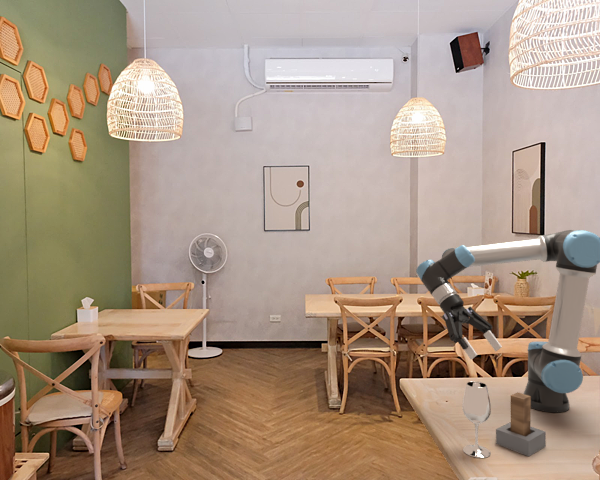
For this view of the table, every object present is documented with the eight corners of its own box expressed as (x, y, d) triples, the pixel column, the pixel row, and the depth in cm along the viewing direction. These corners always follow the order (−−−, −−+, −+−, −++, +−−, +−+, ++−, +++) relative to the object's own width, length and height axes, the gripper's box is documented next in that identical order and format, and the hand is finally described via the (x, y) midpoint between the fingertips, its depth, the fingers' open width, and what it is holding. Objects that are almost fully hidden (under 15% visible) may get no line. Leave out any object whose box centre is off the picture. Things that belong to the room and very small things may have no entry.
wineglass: (458, 446, 140) (457, 380, 139) (482, 444, 141) (482, 379, 140) (469, 459, 132) (469, 389, 132) (496, 457, 133) (496, 388, 132)
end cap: (513, 434, 147) (513, 420, 147) (545, 446, 139) (545, 431, 139) (496, 443, 141) (496, 429, 141) (528, 456, 133) (528, 441, 133)
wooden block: (517, 437, 143) (517, 392, 143) (530, 442, 140) (530, 396, 140) (510, 441, 141) (510, 395, 140) (523, 445, 138) (523, 399, 137)
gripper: (463, 301, 170) (500, 351, 159) (417, 310, 156) (455, 366, 144) (476, 289, 165) (516, 340, 154) (430, 297, 151) (470, 354, 140)
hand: (486, 353), depth 149 cm, fingers open, 13 cm apart
